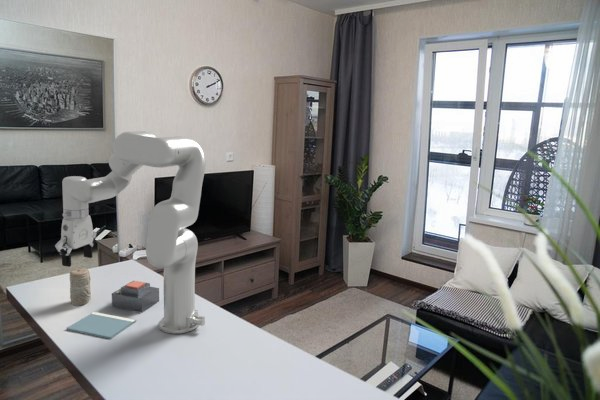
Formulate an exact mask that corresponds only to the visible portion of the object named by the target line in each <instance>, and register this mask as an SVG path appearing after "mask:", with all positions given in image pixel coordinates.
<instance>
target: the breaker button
mask: <svg viewBox="0 0 600 400" xmlns="http://www.w3.org/2000/svg"><path fill="white" fill-rule="evenodd" d="M132 281H133V282H132ZM132 281H130V282H131V283H130V282H128V283H129V284H128V283H127V284H128V285H126V284H125V285H126V287H128V288H133V289H139V288H140V287H142V286H144V285H145V283H146V282H145V283H144V281H139V282H138V280H132Z"/></svg>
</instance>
